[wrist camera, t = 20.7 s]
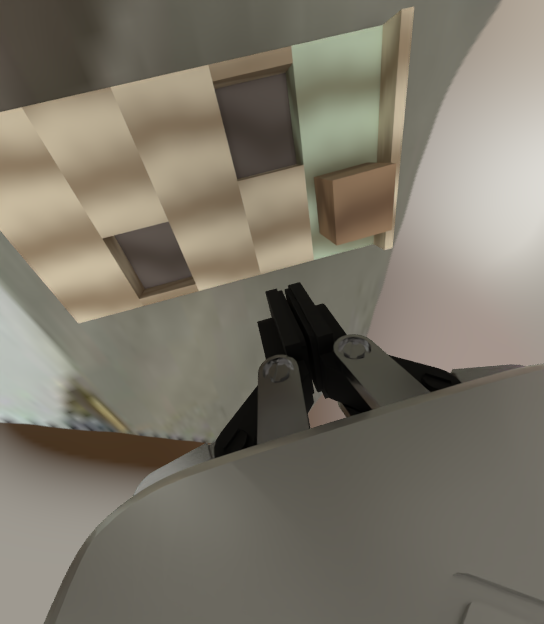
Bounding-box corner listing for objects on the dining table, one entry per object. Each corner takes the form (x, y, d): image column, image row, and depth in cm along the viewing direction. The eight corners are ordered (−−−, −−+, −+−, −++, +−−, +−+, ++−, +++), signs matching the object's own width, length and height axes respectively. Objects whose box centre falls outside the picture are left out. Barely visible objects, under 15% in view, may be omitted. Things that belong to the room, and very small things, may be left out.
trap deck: (-48, 134, 21) (-122, 127, 16) (374, 37, 22) (414, 6, 18) (89, 310, 31) (67, 336, 27) (368, 235, 33) (392, 247, 28)
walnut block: (313, 177, 25) (332, 180, 21) (367, 162, 25) (396, 163, 21) (319, 233, 28) (336, 245, 24) (366, 219, 29) (391, 229, 25)
